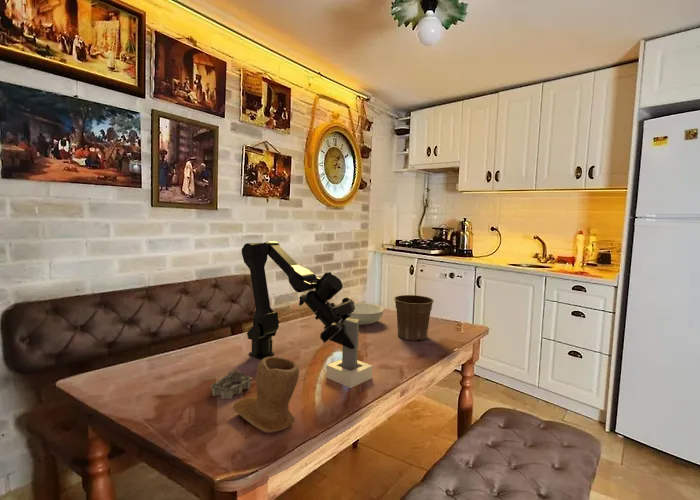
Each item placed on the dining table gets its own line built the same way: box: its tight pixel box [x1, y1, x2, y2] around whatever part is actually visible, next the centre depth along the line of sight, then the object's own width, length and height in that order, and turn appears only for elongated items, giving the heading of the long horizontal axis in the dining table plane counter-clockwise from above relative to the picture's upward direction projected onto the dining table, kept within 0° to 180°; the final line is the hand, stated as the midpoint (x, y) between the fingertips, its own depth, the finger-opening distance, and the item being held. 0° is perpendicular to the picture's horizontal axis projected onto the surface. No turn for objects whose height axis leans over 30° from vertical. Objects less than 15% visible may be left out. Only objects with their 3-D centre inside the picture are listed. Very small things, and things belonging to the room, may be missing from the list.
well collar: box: [325, 358, 373, 389], centre depth 120 cm, size 10×10×4 cm
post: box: [341, 318, 360, 371], centre depth 119 cm, size 4×4×15 cm
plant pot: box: [393, 294, 435, 342], centre depth 163 cm, size 16×16×16 cm
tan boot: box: [232, 356, 300, 433], centre depth 94 cm, size 15×12×15 cm
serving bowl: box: [348, 302, 384, 326], centre depth 182 cm, size 21×21×7 cm
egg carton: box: [209, 368, 254, 400], centre depth 109 cm, size 11×8×4 cm
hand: (354, 346), depth 119 cm, fingers closed on post, 4 cm apart
